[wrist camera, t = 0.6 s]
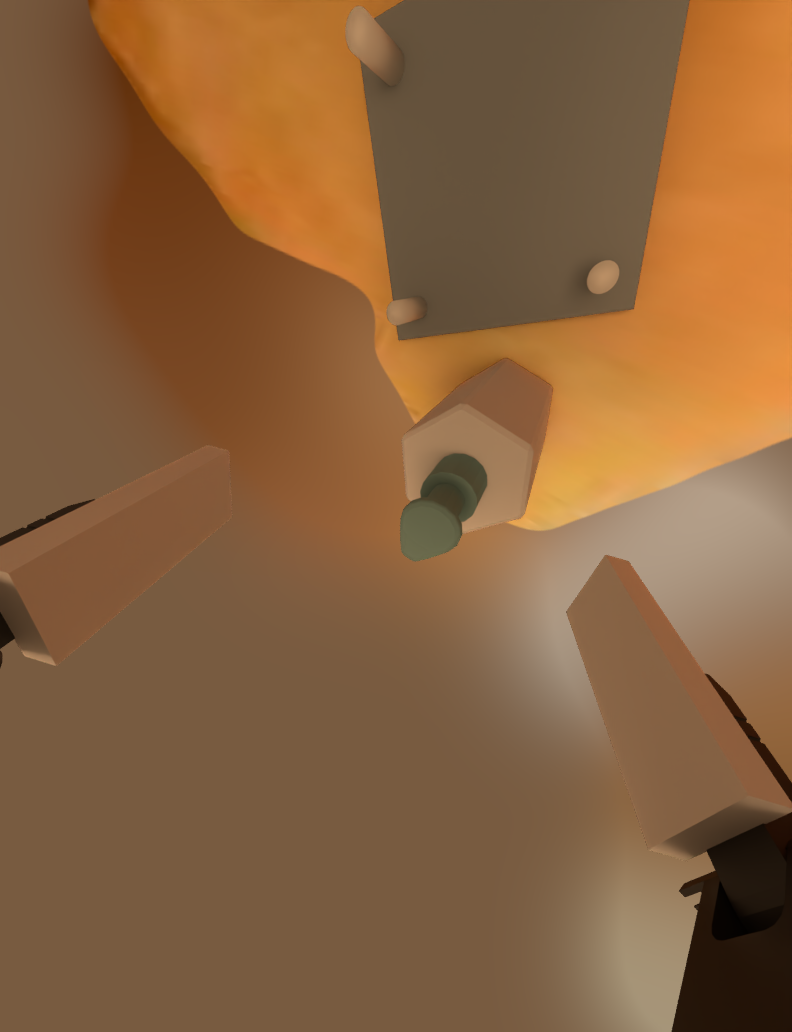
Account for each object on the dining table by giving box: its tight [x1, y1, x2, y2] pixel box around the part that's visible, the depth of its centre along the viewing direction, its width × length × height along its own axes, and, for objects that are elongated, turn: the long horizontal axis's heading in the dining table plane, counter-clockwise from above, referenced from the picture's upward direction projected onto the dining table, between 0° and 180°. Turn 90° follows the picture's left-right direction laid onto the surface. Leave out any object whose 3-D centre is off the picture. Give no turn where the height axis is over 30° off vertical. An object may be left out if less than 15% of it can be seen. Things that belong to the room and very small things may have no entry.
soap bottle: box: [400, 359, 553, 561], centre depth 28 cm, size 10×9×22 cm
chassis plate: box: [346, 0, 689, 340], centre depth 24 cm, size 20×20×6 cm
